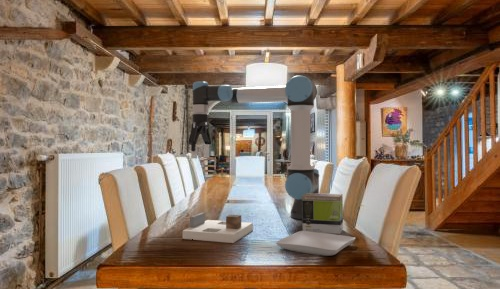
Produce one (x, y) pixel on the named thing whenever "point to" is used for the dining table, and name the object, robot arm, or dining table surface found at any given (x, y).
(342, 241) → the salad plate
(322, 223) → the tea box
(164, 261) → the dining table surface
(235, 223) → the walnut block
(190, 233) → the platform
